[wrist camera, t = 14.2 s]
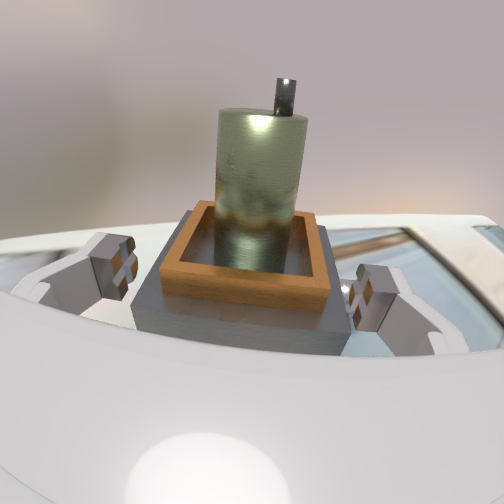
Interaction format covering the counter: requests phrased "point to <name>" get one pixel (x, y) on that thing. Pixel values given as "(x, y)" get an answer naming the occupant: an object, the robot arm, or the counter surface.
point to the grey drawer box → (246, 293)
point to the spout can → (257, 182)
